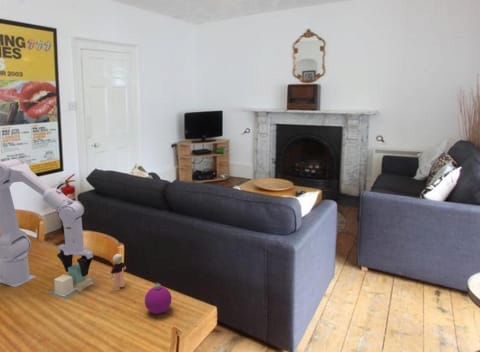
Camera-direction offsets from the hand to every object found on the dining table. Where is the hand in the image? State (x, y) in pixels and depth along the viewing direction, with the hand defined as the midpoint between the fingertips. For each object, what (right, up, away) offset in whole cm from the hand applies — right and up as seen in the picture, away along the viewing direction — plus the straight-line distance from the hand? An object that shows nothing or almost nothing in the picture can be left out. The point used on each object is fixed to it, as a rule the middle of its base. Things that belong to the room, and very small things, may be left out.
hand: (76, 273), depth 128 cm
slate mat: (-1, -5, -1) cm, 5 cm away
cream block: (-2, -5, -4) cm, 7 cm away
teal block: (0, -3, +1) cm, 3 cm away
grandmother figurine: (+15, -5, 0) cm, 16 cm away
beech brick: (0, -4, +1) cm, 4 cm away
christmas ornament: (+32, -9, -14) cm, 36 cm away
